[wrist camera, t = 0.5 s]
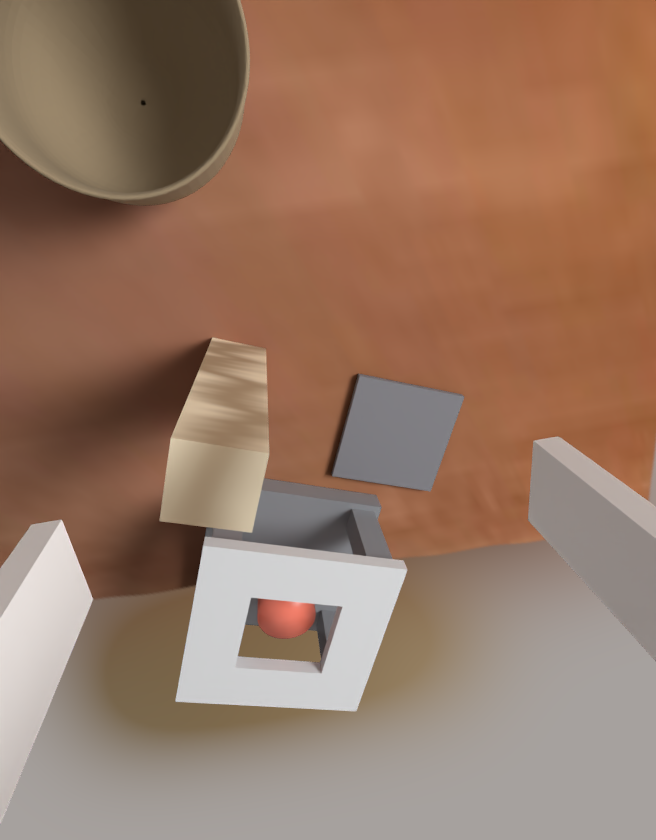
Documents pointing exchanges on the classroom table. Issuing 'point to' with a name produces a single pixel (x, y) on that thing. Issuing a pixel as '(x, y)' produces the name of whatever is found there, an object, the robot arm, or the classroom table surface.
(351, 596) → the grey open box frame
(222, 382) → the light wooden bar
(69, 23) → the bowl
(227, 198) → the classroom table surface
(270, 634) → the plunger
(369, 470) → the pad
